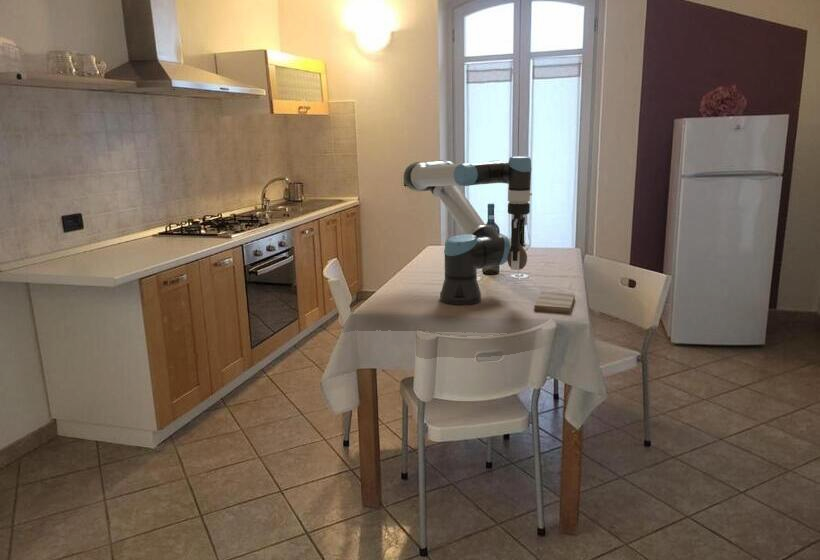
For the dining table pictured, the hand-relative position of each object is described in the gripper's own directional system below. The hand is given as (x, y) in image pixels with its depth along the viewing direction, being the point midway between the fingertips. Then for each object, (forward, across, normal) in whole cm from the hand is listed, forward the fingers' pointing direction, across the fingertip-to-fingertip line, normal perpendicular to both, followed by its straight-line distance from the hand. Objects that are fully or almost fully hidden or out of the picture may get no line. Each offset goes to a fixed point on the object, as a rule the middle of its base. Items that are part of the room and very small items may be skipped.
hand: (516, 267), depth 218 cm
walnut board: (+13, +1, -14) cm, 19 cm away
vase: (+1, 0, 0) cm, 1 cm away
